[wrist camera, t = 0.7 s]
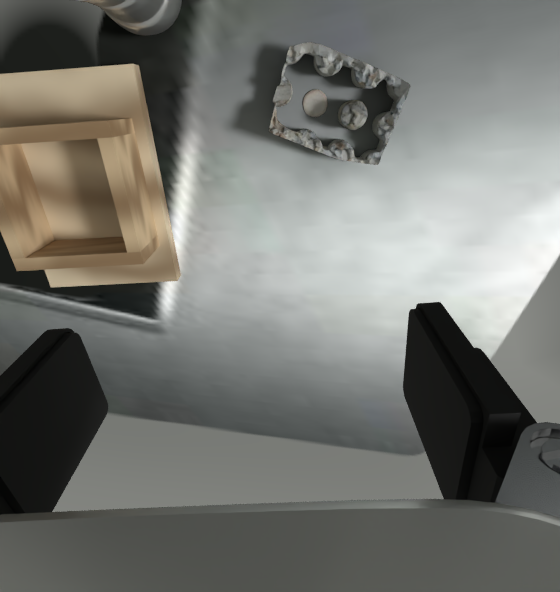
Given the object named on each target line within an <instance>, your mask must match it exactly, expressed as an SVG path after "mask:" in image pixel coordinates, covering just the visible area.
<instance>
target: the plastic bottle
mask: <svg viewBox="0 0 560 592" xmlns="http://www.w3.org/2000/svg"><path fill="white" fill-rule="evenodd" d="M75 1H83V2H88V3H91V4H94V5H97V6H98V7H100V8H101V9H102V10H104V12H105V13H106V14H107V15H108V16H109V17H110V18H111V19H112V20H114V21H115V22H116V23H117V24H118V25H119V26H121V27H122V28H124V29H125V30H127V31H129V32H132V33H134V34H138V35H155V34H158V33H161V32H164V31H165V30H167V29H168V28H169V27H170V26H171V25H172V24H173V23H174V22H175V20H176V18H177V17H178V14H179V11H180V8H181V3H182V0H75Z"/></svg>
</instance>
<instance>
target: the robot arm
mask: <svg viewBox="0 0 560 592" xmlns="http://www.w3.org/2000/svg"><path fill="white" fill-rule="evenodd" d="M403 390H404V396H405V399H406V402H407V404H408V407H409V410H410V412H411V415H412V417H413V420H414V422H415V425H416V428H417V430H418V433H419V435H420V438H421V441H422V443H423V446H424V448H425V451H426V454H427V456H428V459H429V461H430V464H431V467H432V469H433V472H434V474H435V477H436V479H437V482H438V485H439V487H440V490H441V493H442V495H443V497H444V499H397V500H348V501H318V502H289V503H261V504H234V505H208V506H185V507H184V506H183V507H159V508H137V509H135V508H134V509H112V510H111V509H110V510H89V511H67V512H52V511H53V509H54V507H55V506H56V504H57V502H58V500H59V498H60V497H61V495H62V493H63V491H64V490H65V488H66V486H67V484H68V482H69V481H70V479H71V477H72V475H73V474H74V472H75V470H76V468H77V466H78V465H79V463H80V461H81V459H82V457H83V456H84V454H85V452H86V450H87V449H88V447H89V445H90V443H91V441H92V440H93V438H94V436H95V434H96V433H97V431H98V429H99V427H100V425H101V424H102V422H103V420H104V418H105V417H106V414H107V411H108V403H107V400H106V397H105V395H104V393H103V390H102V388H101V385H100V383H99V381H98V378H97V376H96V373H95V371H94V369H93V366H92V364H91V361H90V359H89V356H88V354H87V352H86V349H85V347H84V344H83V342H82V340H81V337H80V336H79V334H77V333H74V331H73V330H72V329H69V328H65V329H51V330H47V331H45V332H44V333H43V334H42V335H41V336H40V337H39V338H38V339H37V340H36V341H35V342H34V343H33V344H32V345H31V346H30V347H29V348H28V349H27V350H26V351H25V352H24V353H23V354H22V355H21V356H20V357H19V358H18V359H17V360H16V361H15V362H14V363H13V364H12V365H11V366H10V367H9V368H8V369H7V370H6V371H5V372H4V373H3V374H2V375H1V376H0V592H560V424H557V423H548V422H544V423H537V422H536V421H535V420H534V418H533V417H532V416H531V414H530V413H529V412H528V410H527V409H526V408H525V406H524V405H523V404H522V403H521V401H520V400H519V399H518V397H517V396H516V394H515V393H514V392H513V390H512V389H511V388H510V386H509V385H508V384H507V382H506V381H505V380H504V378H503V377H502V376H501V375H500V373H499V372H498V371H497V369H496V368H495V367H494V365H493V364H492V363H491V361H490V360H489V359H488V357H487V356H486V355H485V353H484V352H483V351H482V350H481V349H479V348H474V347H473V346H472V345H471V343H470V342H469V341H468V339H467V338H466V337H465V335H464V334H463V332H462V331H461V330H460V328H459V327H458V326H457V324H456V323H455V321H454V320H453V319H452V317H451V316H450V315H449V313H448V312H447V310H446V309H445V308H444V306H443V305H442V304H441V303H440V302H434V303H420V304H417V306H416V309H411V310H410V312H409V320H408V332H407V344H406V357H405V369H404V381H403Z"/></svg>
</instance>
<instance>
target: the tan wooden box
mask: <svg viewBox="0 0 560 592" xmlns="http://www.w3.org/2000/svg"><path fill="white" fill-rule="evenodd" d="M0 231H1V234H2V236H3V238H4V241H5V243H6V246H7V248H8V250H9V252H10V255H11V258H12V260H13V263H14V265H15V267H16V270H17V271H27V270H45V273H46V275H47V278H48V281H49V283H50V286H51V287H67V286H87V285H106V284H126V283H145V282H164V281H177V280H178V279H179V277H180V276H181V274H180V269H179V264H178V259H177V254H176V249H175V244H174V239H173V234H172V229H171V224H170V219H169V214H168V209H167V204H166V199H165V194H164V189H163V184H162V179H161V174H160V169H159V164H158V159H157V154H156V149H155V144H154V139H153V134H152V130H151V125H150V120H149V115H148V110H147V105H146V100H145V95H144V90H143V85H142V80H141V75H140V70H139V65H135V64H124V65H111V66H98V67H86V68H73V69H60V70H48V71H34V72H21V73H7V74H0Z"/></svg>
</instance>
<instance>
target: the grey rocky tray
mask: <svg viewBox="0 0 560 592" xmlns="http://www.w3.org/2000/svg"><path fill="white" fill-rule="evenodd" d="M303 54H309V55H311V56H313V57H314V67H315V69H316V71H317V72H318V73H319V74H320V75H321V76H325V77H326V76H331V75H334V74H336V73H337V72H339V71H340V69H341V67H342V66H345V67H347V68H350V69H351V79H352V82H353V84H354V85H355V86H357V87H359V88H363V89H364V88H366V89H371V88H375V87H376V86H377V85H378V83H379V82H380V81H382V80H386V82H387V93H388V94H389V96H390V97H391V98H392V99H393V100H394V103H393V105H392V108H391V110H390V111H389V112H383V113H381V114H379V115H377V116H376V118H375V119H374V121H373V123H372V129H373V133H374V134H375V135H376V136H377V137H378V138H379V139H380V140H379V143H378V146H377V148H376V149H374V150H368V151H366V152H364V153H363V154H362V156H361V157H355V155H354V150H353V148H352V146H351V145H350V144H349V143H348V142H346V141H344V140H340V139H337V140H334V141H332V142H331V143H330V144H329V145H328V146H327V147H326V146H322V143H321V141H320V140H319V139H318V138H317V136H316V134H315V133H314V132H312V131H311V130H309V129H301V130H299V131H297V132H295V131H292V130H290V129H288V128H286V127H285V126H283V125H282V124H281V123H280V122H279V121H278V120H277V116H276V114H277V110H276V107H281V106H284V105H286V104H287V103H288V102H289V101H290V99H291V98H292V93H293V90H292V85H291V83H290V82H289V80H288V79H286V78H285V77H284V72H285V68H286V66H287V65H293V64H295V63H297V62H298V61H299V60H300V58H301V57H302V56H303ZM409 88H410V84H409V83H407V82H406V81H404V80H402V79H400V78H398V77H396V76H394V75H392V74H389V73H386V72H384V71H382V70H380V69H378V68H375V67H373V66H370V65H368V64H367V63H364V62H362V61H360V60H357V59H354V58H352V57H349V56H347V55H345V54H342V53H339V52H337V51H335V50H333V49H331V48H328V47H325V46H323V45H320V44H316V43H312V42H308V43H303V44H299V45H295V46H290V48H289V50H288V53H287V58H286V63H285V64H284V67H283V70H282V74H281V82H280V84H279V86H277V89H276V92H275V95H274V98H273V102H274V104H275V105H274V111H273V115H272V119H271V123H270V127H269V132H271V133H273V134H275V135H277V136H280V137H283V138H285V139H288V140H290V141H293V142H295V143H298V144H300V145H303V146H305V147H307V148H310V149H312V150H315V151H317V152H320V153H323V154H325V155H327V156H330V157H333V158H335V159H338V160H345V161H351V162H359V163H365V164H374V165H378V164H379V162H380V159H381V155H382V153H383V151H384V149H385V147H386V145H387V143H388V140H389V138H390V135H391V133H392V131H393V129H394V126H395V124H396V121H397V119H398V117H399V115H400V112H401V110H402V106H403V104H404V102H405V100H406V97H407V94H408V91H409ZM327 105H328V102H327V97H326V95H325V94H324V93H323V92H322V91H320V90H316V89H315V90H311V91H309V92H308V93H307V94H306V95H305V96H304V99H303V108H304V111H305V112H306V114H307V115H309V116H310V117H319V116H321V115H322V114H323V113H324V112H325V111H326V109H327ZM367 117H368V113H367V107H366V106H365V105H364V104H363V102H362V101H358V100H351V101H347V102H345V103H344V104H342V105H341V107H340V108H339V111H338V120H339V122H340V123H341V125H342V126H343V127H345V128H347V129H350V130H356V129H358V128H360V127H361V126H363V124H364V123H365V121H366V119H367Z"/></svg>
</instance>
